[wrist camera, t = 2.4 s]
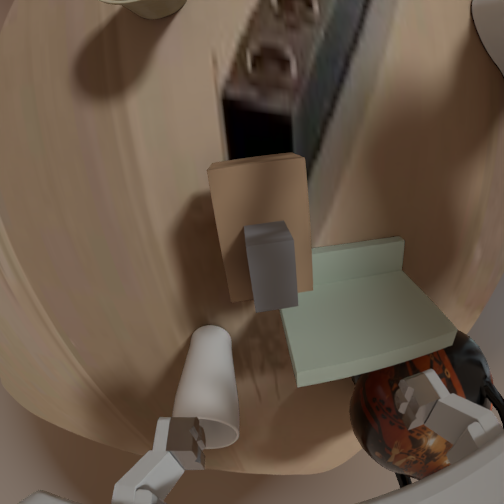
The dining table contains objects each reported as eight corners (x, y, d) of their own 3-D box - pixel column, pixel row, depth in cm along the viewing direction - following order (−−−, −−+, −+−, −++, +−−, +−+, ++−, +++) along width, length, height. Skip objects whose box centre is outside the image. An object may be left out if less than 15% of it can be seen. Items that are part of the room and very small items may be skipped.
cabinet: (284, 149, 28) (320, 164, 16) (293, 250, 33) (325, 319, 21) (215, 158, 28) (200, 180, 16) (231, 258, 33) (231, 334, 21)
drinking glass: (243, 325, 36) (249, 424, 23) (229, 360, 39) (229, 453, 25) (192, 312, 35) (174, 410, 21) (181, 349, 38) (166, 442, 24)
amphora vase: (400, 396, 47) (451, 508, 21) (309, 390, 43) (348, 547, 17) (466, 310, 39) (557, 420, 13) (381, 280, 35) (506, 460, 9)
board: (398, 236, 33) (468, 294, 20) (394, 278, 35) (452, 344, 22) (272, 253, 33) (295, 335, 20) (276, 298, 35) (297, 387, 22)
